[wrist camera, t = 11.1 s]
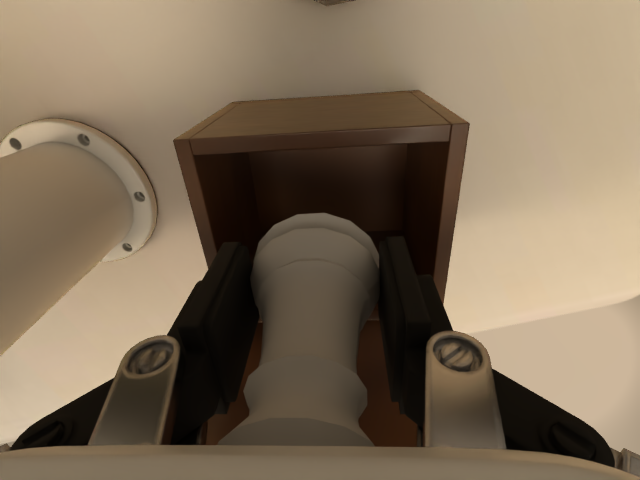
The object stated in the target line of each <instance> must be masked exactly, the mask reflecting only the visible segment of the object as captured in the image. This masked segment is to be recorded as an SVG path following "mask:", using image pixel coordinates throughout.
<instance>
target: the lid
mask: <svg viewBox="0 0 640 480" xmlns="http://www.w3.org/2000/svg"><path fill="white" fill-rule="evenodd" d="M262 333H263V322H258V324H257V328H256V331H255V335H254V338H253V342H252V346H251V349H250V353H249V356H248V360H247V364H246V367H245V371H244V374H243V378H242V382H241V385H240V389H239V393H238V396H237V399H236V401H235V402H230V405H229V409H228V412H227V414H214V416H212V417H211V418H210V419H208V429H207V438H206V445H218V442H219V441H220V440H221V439H223V438H224V437H225V436H226V435H227V434H228V433H230V432H231V431H232V430H233V429H234V428H236V427H237V426H238V425H239V424H240V423H242V422H243V421H244V420H245V419H246V418H247V417H249V410H250V409H249V408H248V406H247V402H246V399H245V395H244V392H243V391H244V388H245V385H246V382H247V379H248V376H249V375H250V374H251V373H253V372H254V371H255V370H256V369H257V368H258V367H259V362H260V358H261V348H262ZM356 367H357V375H358V377H359V378H360V380H361V381H362V383H363V384H364V386H365V387H366V389H367V407H366V408H365V410H364V411H363V413H362V414H361V416H360V417H359V419H358V423H359V427H360V428H361V430H362V431H363V432H364V433H365V434H366V436H367V437H368V438H369V439H370V440H371V442H372V443H373V444H374V446H375V447H416V426H417V424H416V423H415V422H413V421H412V420H411V419H409V418H408V417H407V416H406V415H405V414H400V410H399V404H398V402H392V401H391V397H390V390H389V383H388V376H387V369H386V363H385V356H384V349H383V342H382V335H381V328H380V321H379V320H367V321H366V323H365V325H364V327H363V329H362V330H361V331H360V338H359V347H358V356H357V366H356Z"/></svg>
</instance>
